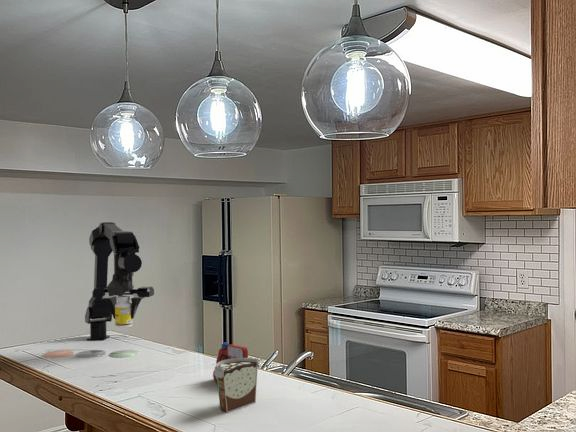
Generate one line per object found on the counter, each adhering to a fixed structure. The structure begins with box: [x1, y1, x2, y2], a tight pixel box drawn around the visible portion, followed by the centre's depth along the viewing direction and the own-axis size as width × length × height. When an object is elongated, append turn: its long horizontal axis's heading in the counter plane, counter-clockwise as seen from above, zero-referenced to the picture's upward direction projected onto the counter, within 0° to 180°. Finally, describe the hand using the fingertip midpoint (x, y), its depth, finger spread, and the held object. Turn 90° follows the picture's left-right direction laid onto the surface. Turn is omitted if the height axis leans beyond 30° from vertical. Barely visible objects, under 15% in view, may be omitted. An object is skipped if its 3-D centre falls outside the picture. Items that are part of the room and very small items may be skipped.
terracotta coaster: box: [43, 349, 74, 359], centre depth 194 cm, size 9×9×1 cm
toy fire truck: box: [212, 342, 249, 385], centre depth 156 cm, size 7×12×10 cm, turn 41°
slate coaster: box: [76, 349, 107, 359], centre depth 193 cm, size 9×9×1 cm
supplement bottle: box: [114, 295, 133, 329], centre depth 193 cm, size 5×5×10 cm
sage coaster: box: [109, 349, 140, 359], centre depth 193 cm, size 9×9×1 cm
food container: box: [213, 357, 260, 414], centre depth 137 cm, size 12×6×10 cm, turn 141°
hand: (123, 318), depth 193 cm, fingers closed on supplement bottle, 5 cm apart
